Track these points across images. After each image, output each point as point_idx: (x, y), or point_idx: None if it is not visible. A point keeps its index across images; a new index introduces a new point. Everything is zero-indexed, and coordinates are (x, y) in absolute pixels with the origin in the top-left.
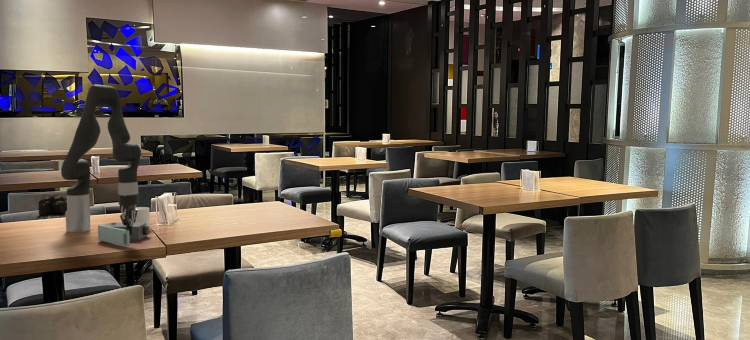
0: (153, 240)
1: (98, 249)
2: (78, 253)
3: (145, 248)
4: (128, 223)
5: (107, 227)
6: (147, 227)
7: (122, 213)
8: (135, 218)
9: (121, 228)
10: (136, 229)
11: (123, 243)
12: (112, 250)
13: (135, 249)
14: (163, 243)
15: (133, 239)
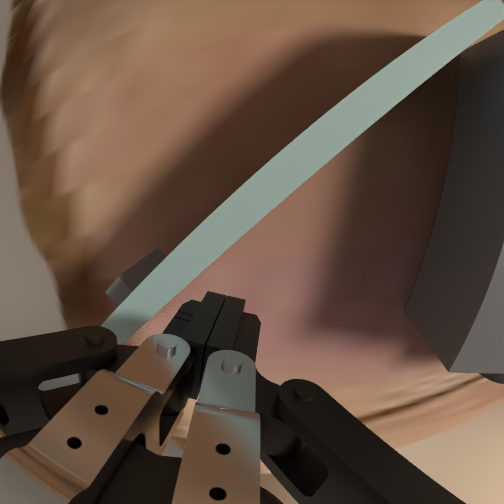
0: (369, 389)
1: (157, 72)
2: (88, 12)
3: None
4: (64, 393)
5: (410, 49)
6: (499, 378)
7: (9, 451)
8: (307, 485)
9: (501, 202)
10: (447, 338)
11: (157, 249)
12: (108, 178)
13: None
14: None
15: (421, 276)
